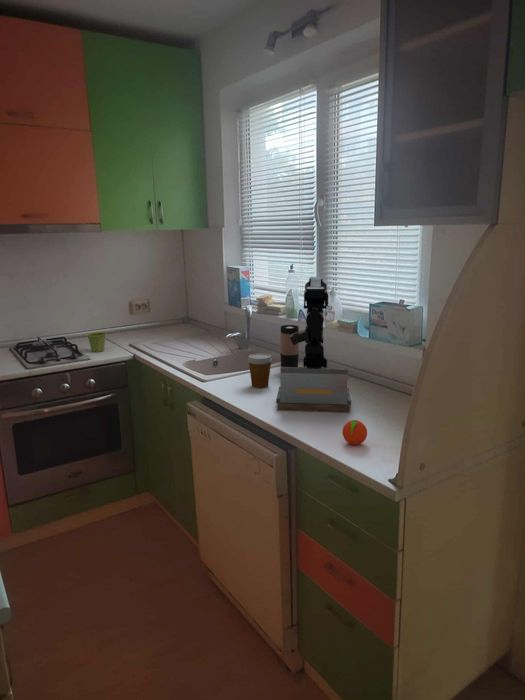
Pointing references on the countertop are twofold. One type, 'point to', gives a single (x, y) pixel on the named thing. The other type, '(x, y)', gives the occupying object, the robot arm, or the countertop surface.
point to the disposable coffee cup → (259, 369)
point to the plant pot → (97, 341)
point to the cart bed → (314, 405)
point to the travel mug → (289, 347)
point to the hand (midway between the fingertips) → (314, 367)
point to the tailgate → (313, 385)
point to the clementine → (354, 432)
